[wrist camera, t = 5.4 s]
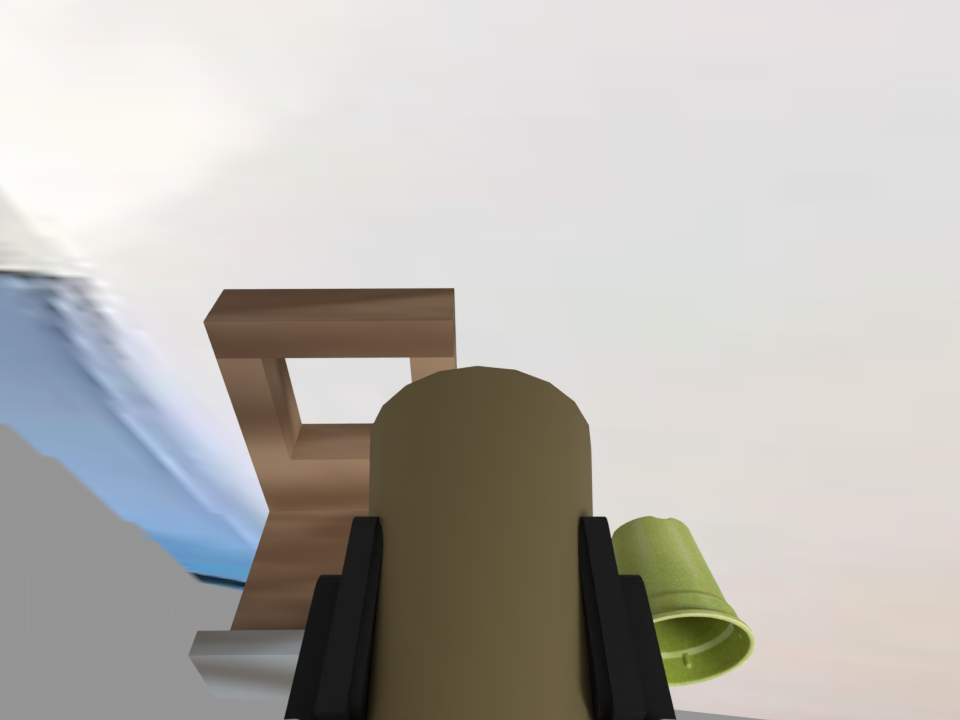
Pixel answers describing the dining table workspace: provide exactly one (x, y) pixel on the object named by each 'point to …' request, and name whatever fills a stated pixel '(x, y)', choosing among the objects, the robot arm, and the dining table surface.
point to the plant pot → (682, 601)
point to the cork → (480, 550)
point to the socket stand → (303, 455)
